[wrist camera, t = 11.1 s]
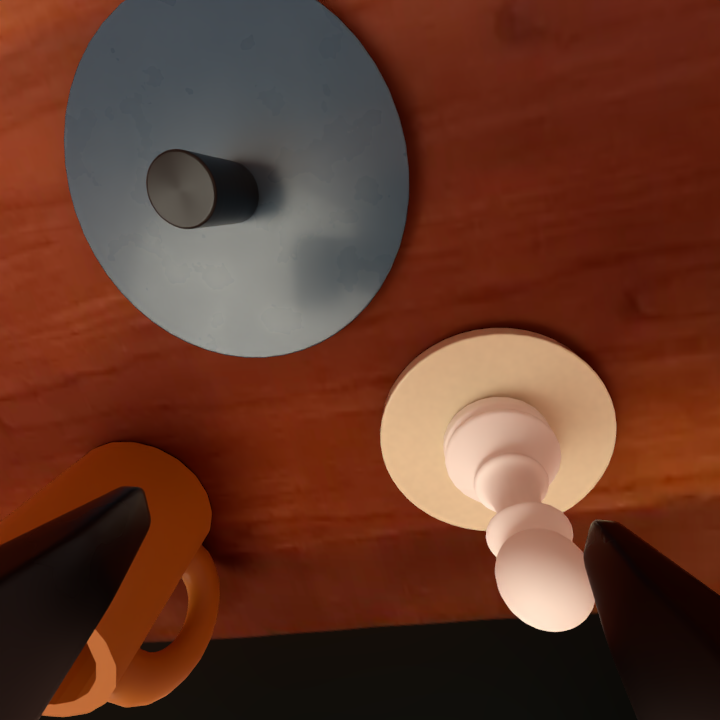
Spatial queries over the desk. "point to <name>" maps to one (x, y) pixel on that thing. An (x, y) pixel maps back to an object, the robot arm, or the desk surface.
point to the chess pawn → (520, 509)
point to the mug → (135, 577)
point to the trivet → (485, 380)
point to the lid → (237, 169)
